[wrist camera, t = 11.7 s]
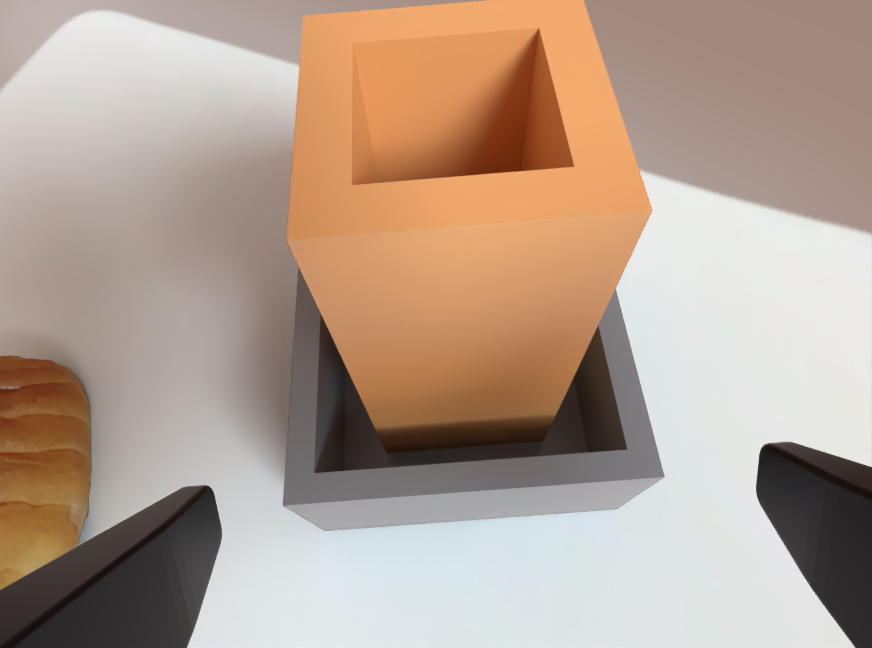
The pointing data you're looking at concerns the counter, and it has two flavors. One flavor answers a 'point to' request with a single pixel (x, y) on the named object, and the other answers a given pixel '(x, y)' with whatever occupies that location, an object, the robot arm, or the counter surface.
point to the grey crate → (464, 466)
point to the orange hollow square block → (461, 210)
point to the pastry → (41, 464)
